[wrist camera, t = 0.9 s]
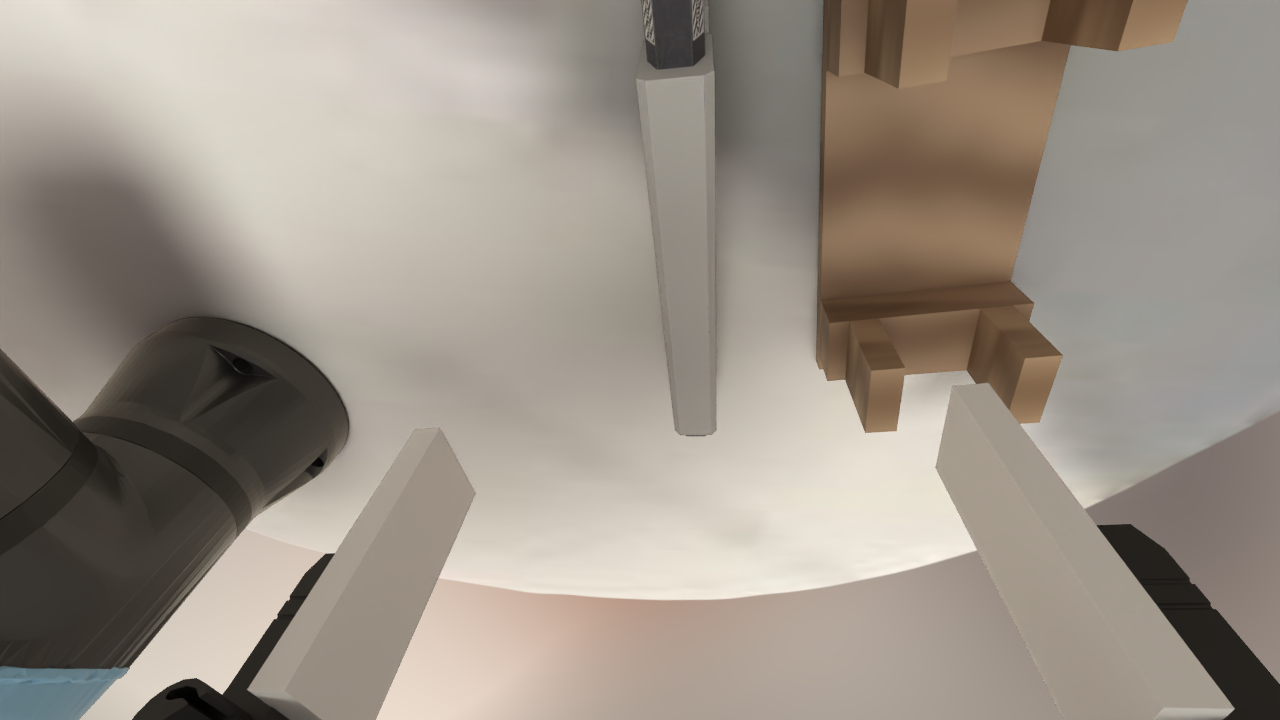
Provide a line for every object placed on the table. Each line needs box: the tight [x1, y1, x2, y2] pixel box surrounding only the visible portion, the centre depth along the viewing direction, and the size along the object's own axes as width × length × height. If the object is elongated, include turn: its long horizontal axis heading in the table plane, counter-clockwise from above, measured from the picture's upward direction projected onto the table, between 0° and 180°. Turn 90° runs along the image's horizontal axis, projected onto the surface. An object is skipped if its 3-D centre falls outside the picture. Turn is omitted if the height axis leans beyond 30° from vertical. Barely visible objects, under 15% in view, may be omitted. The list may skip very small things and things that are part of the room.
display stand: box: [816, 0, 1188, 433], centre depth 23 cm, size 22×10×8 cm, turn 10°
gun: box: [636, 0, 716, 436], centre depth 26 cm, size 2×25×10 cm, turn 5°
